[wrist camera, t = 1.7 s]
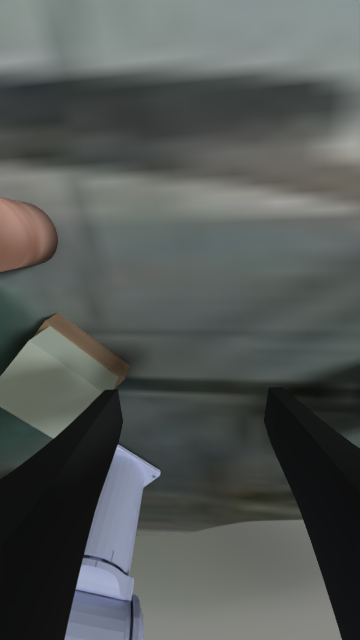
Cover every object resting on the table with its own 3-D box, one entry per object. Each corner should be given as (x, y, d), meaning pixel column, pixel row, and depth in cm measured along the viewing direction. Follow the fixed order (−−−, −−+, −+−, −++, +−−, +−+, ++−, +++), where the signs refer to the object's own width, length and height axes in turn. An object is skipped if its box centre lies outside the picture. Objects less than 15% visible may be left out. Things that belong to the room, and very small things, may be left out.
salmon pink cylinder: (40, 275, 18) (1, 286, 14) (-11, 236, 17) (-67, 236, 13) (68, 232, 16) (35, 232, 13) (16, 187, 15) (-38, 173, 12)
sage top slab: (74, 419, 21) (60, 442, 19) (8, 377, 19) (-17, 397, 17) (118, 377, 19) (109, 397, 17) (49, 326, 17) (29, 340, 15)
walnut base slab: (86, 407, 24) (76, 426, 21) (20, 365, 22) (0, 381, 19) (131, 362, 21) (125, 378, 19) (61, 310, 19) (44, 321, 17)
